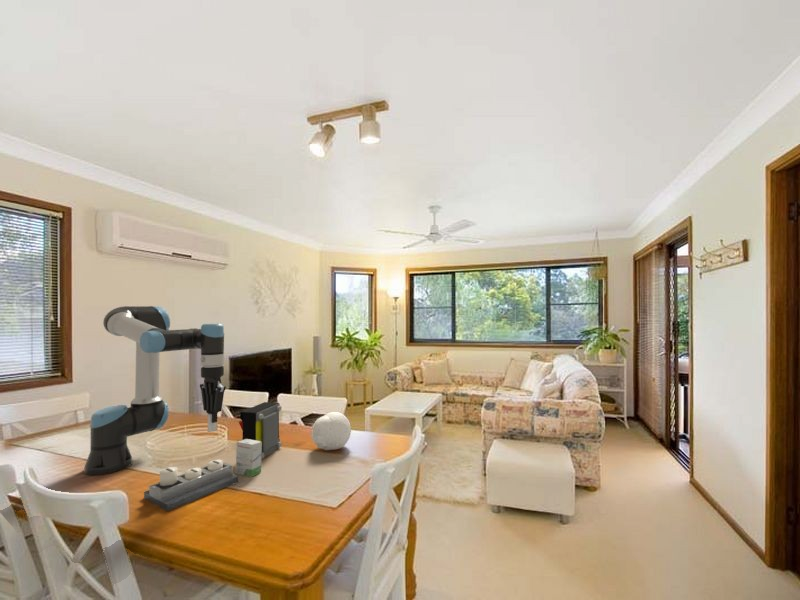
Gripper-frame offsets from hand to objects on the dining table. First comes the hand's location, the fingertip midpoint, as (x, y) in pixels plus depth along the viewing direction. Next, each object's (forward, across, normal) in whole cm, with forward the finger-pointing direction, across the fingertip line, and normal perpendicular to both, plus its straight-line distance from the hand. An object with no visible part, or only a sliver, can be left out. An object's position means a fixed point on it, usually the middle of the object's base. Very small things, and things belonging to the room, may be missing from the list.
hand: (212, 430), depth 137 cm
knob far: (+16, 0, +1) cm, 16 cm away
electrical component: (+19, -8, +27) cm, 34 cm away
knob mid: (+16, 0, -7) cm, 17 cm away
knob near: (+13, 0, -15) cm, 20 cm away
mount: (+18, 0, -7) cm, 20 cm away
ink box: (+19, +4, +12) cm, 22 cm away
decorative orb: (+19, +15, +47) cm, 53 cm away
